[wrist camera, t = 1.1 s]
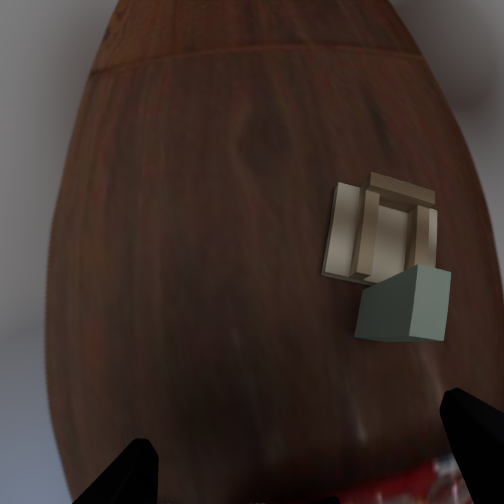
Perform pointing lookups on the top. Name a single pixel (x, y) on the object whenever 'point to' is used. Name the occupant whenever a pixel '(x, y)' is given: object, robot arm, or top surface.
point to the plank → (406, 307)
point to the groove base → (380, 230)
